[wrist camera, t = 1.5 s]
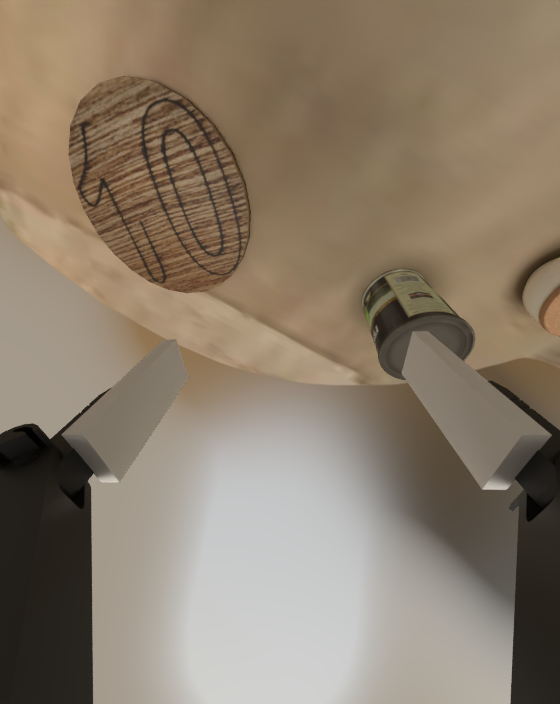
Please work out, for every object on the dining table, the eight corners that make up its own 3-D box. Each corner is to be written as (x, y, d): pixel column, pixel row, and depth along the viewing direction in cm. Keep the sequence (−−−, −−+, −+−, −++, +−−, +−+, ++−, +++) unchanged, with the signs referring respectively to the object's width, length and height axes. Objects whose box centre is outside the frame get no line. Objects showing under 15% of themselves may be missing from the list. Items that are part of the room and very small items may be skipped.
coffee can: (372, 332, 42) (391, 389, 32) (353, 287, 37) (367, 337, 27) (433, 310, 38) (479, 367, 27) (421, 255, 33) (471, 299, 22)
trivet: (152, 299, 44) (146, 304, 43) (37, 128, 29) (23, 126, 28) (271, 272, 38) (269, 277, 36) (203, 36, 23) (196, 27, 21)
